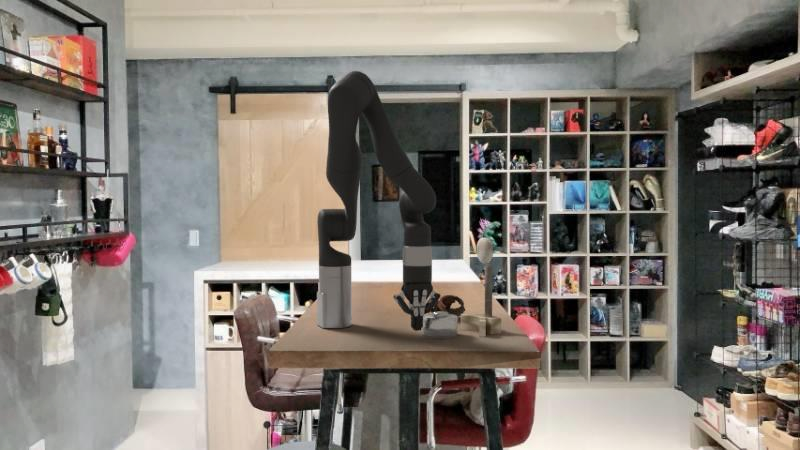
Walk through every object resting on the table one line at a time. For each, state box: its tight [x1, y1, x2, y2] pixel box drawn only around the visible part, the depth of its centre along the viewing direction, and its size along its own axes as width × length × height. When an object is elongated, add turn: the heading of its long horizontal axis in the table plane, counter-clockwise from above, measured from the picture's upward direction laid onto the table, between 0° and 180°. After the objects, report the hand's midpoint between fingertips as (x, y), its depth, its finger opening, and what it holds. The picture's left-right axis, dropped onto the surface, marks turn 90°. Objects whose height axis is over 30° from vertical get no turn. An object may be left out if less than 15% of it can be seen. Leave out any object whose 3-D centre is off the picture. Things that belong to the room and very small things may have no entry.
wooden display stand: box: [460, 237, 502, 337], centre depth 173 cm, size 7×12×26 cm, turn 23°
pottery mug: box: [430, 294, 466, 317], centre depth 192 cm, size 12×10×8 cm
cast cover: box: [422, 311, 459, 340], centre depth 169 cm, size 9×9×6 cm
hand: (417, 329), depth 166 cm, fingers closed
